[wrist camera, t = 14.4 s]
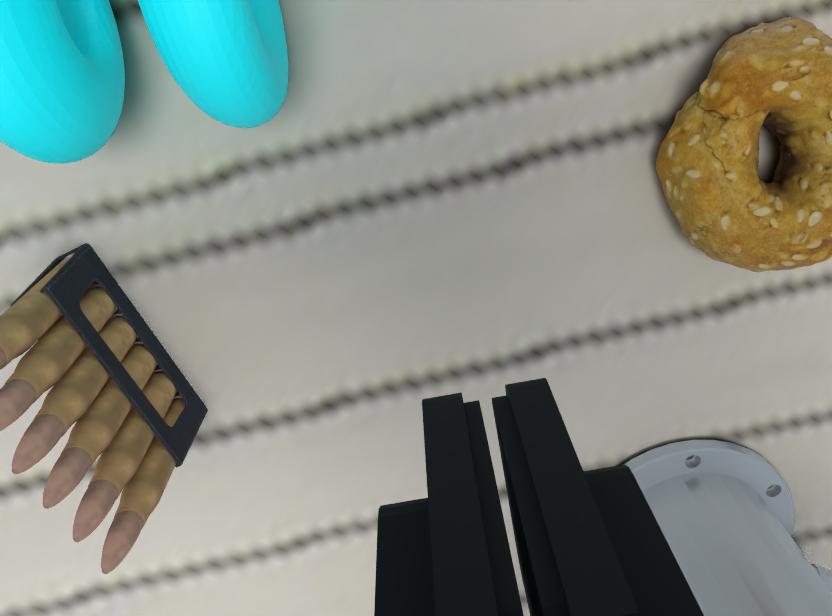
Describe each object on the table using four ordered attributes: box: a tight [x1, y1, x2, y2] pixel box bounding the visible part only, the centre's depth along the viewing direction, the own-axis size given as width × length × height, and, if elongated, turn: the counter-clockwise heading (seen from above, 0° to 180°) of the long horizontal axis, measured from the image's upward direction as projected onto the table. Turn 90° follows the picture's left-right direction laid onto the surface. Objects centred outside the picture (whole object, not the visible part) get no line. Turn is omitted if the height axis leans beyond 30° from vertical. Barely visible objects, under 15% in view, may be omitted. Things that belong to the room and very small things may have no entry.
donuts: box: [0, 0, 289, 163], centre depth 25 cm, size 10×10×10 cm
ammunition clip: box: [0, 244, 208, 574], centre depth 31 cm, size 11×2×12 cm, turn 26°
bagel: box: [656, 17, 832, 272], centre depth 32 cm, size 10×11×5 cm
